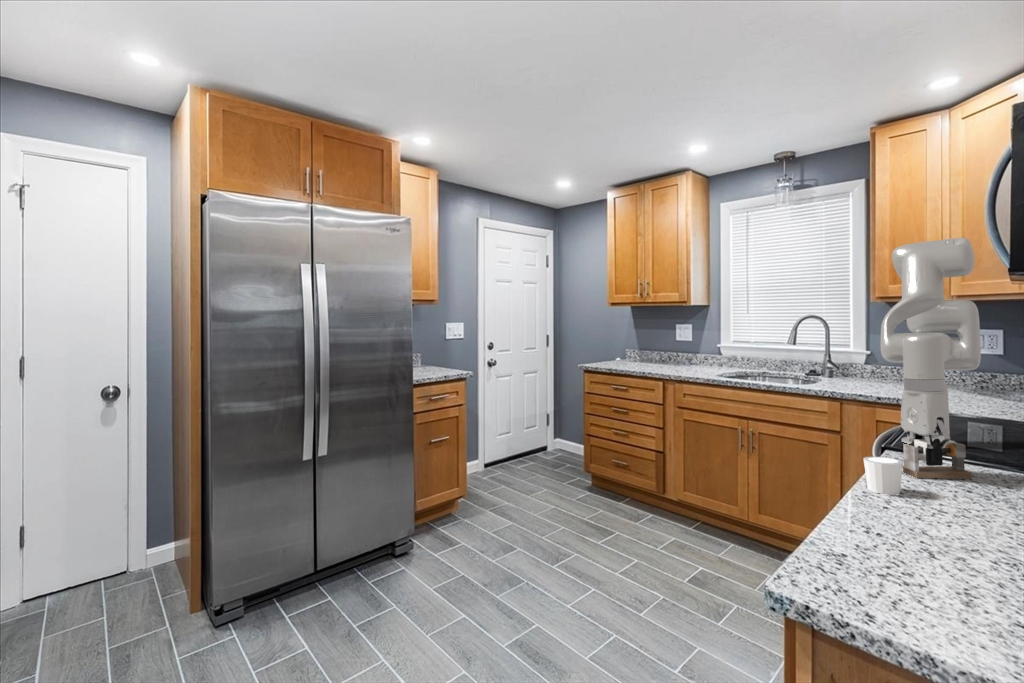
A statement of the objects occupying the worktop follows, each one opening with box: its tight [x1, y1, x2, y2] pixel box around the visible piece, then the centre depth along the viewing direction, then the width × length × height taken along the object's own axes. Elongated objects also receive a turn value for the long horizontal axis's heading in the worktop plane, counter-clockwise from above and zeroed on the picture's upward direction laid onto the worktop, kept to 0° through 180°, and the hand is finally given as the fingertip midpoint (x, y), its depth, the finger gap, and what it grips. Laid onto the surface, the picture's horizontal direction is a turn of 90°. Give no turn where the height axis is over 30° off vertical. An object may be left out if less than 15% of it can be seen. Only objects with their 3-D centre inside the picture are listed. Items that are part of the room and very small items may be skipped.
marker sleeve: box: [914, 439, 928, 462], centre depth 118 cm, size 4×2×4 cm, turn 172°
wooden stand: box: [902, 442, 972, 480], centre depth 118 cm, size 5×12×8 cm, turn 82°
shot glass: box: [863, 456, 904, 496], centre depth 108 cm, size 7×7×7 cm
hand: (926, 461), depth 118 cm, fingers closed on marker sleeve, 4 cm apart
